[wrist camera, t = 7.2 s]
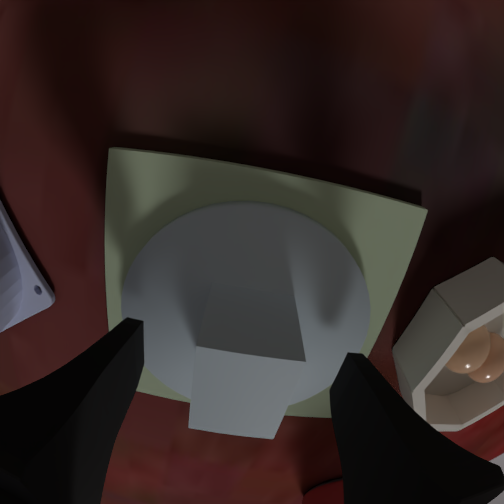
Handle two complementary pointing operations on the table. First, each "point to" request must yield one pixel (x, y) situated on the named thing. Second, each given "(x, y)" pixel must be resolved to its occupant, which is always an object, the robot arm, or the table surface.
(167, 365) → the lid
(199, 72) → the table surface
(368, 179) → the table surface
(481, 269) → the bowl
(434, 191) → the table surface
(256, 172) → the mat
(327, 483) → the beer can
